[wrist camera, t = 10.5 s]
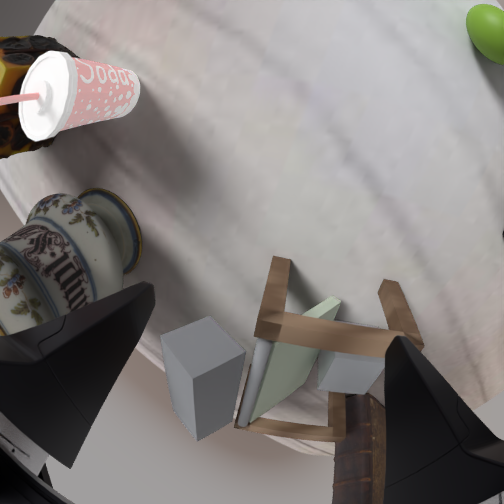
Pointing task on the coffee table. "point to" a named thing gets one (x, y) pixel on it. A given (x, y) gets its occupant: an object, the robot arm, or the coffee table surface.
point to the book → (361, 453)
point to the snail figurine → (487, 31)
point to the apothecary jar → (66, 257)
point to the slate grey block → (347, 370)
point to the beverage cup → (72, 94)
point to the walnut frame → (325, 346)
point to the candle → (10, 83)
